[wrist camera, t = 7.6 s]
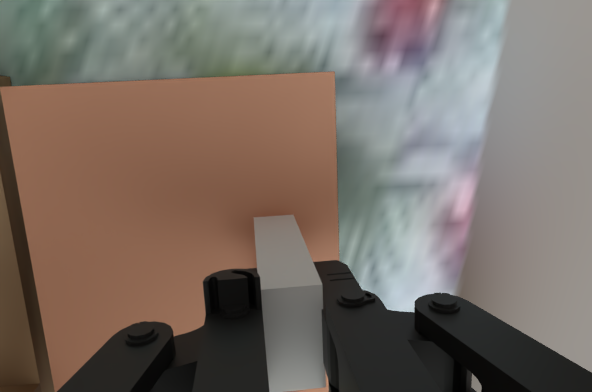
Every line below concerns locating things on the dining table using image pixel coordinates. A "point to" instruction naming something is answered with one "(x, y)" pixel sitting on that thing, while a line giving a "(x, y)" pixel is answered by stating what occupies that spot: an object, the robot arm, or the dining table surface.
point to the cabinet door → (162, 193)
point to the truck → (18, 288)
